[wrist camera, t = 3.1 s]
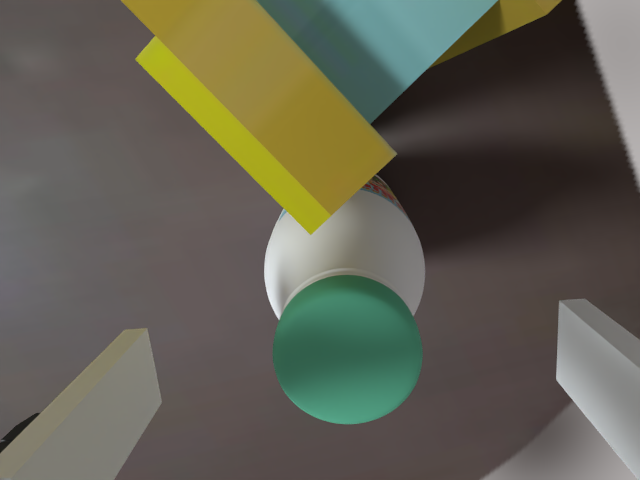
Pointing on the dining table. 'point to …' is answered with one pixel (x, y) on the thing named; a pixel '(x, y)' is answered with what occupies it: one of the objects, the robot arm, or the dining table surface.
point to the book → (309, 79)
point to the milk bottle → (347, 308)
